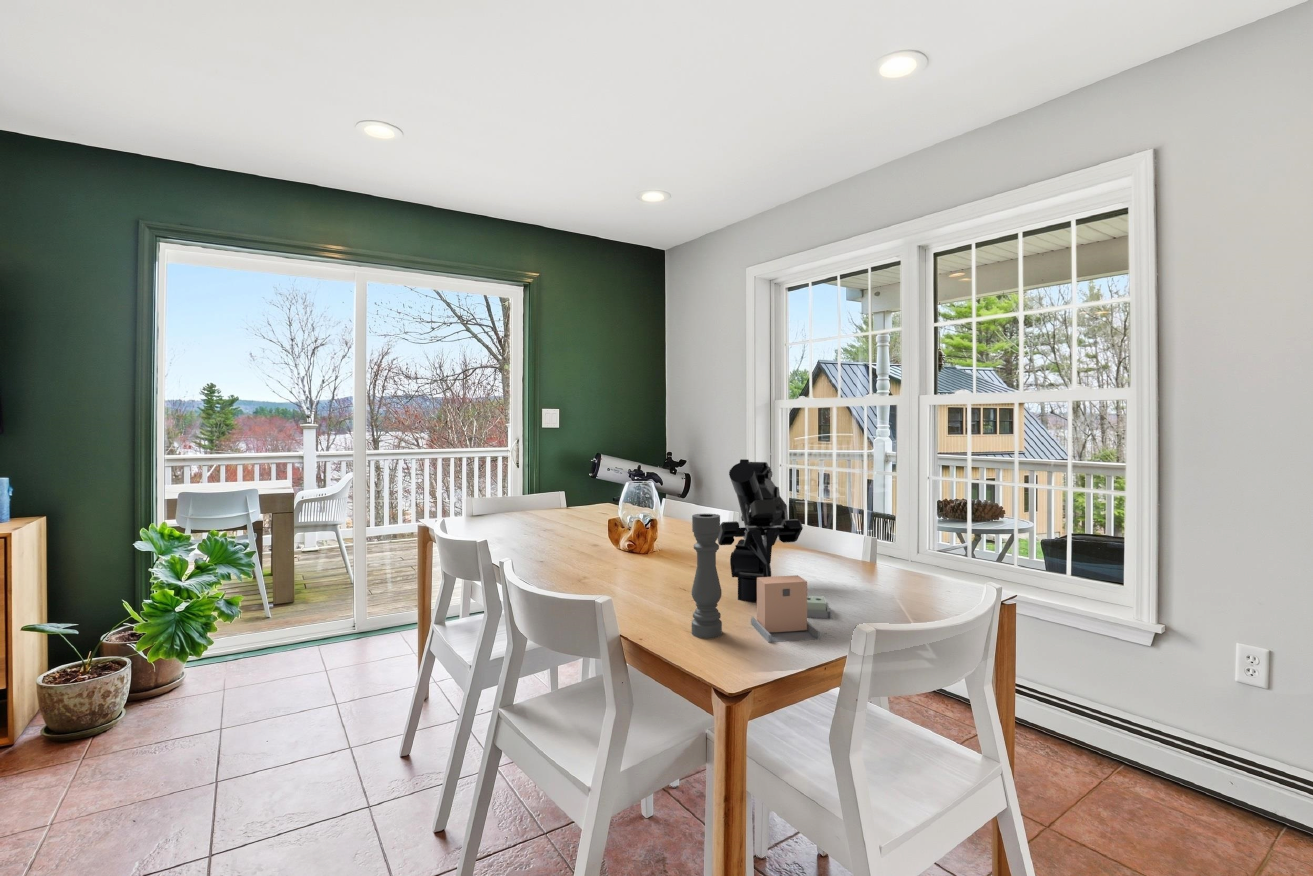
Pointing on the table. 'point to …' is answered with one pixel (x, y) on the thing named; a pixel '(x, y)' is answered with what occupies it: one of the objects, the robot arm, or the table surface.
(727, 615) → the table surface
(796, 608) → the salmon pink box
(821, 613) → the button bezel
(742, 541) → the robot arm
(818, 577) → the table surface
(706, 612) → the candle holder
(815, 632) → the grey tray
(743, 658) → the table surface
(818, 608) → the sage button
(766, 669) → the table surface
